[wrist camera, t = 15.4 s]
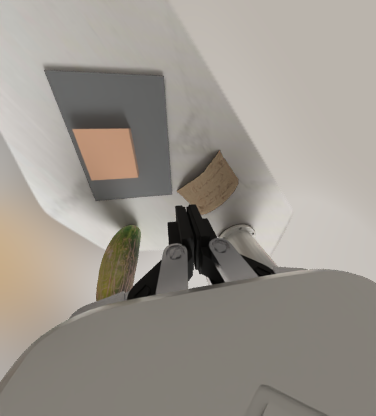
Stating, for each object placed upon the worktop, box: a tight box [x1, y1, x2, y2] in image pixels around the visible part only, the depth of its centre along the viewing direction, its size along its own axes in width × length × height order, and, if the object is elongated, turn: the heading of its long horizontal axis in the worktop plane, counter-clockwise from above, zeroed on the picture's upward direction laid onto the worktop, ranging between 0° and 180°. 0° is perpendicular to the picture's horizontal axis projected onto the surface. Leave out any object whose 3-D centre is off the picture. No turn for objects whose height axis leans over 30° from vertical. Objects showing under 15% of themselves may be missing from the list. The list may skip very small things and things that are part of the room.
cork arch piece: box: [177, 150, 238, 215], centre depth 32 cm, size 14×10×3 cm
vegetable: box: [96, 225, 141, 301], centre depth 26 cm, size 6×6×20 cm
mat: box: [44, 70, 172, 201], centre depth 25 cm, size 20×16×1 cm
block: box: [72, 128, 139, 180], centre depth 24 cm, size 8×2×8 cm
